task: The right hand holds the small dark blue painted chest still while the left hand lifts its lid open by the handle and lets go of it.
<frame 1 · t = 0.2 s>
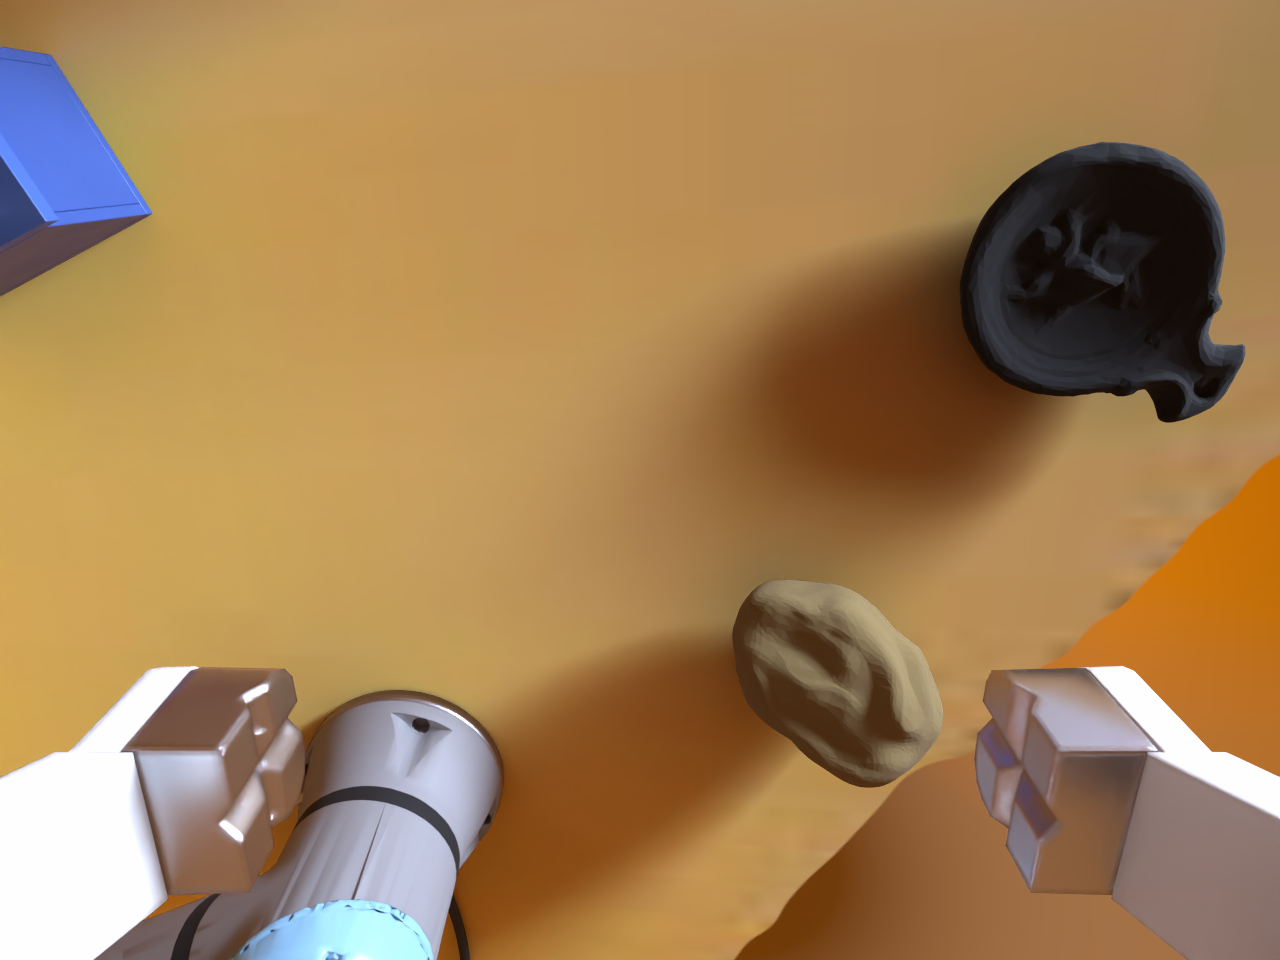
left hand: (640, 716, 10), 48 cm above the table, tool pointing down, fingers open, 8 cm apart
decorative stone: (818, 636, 65), on the table
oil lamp: (1080, 293, 56), on the table
chest: (6, 191, 54), on the table
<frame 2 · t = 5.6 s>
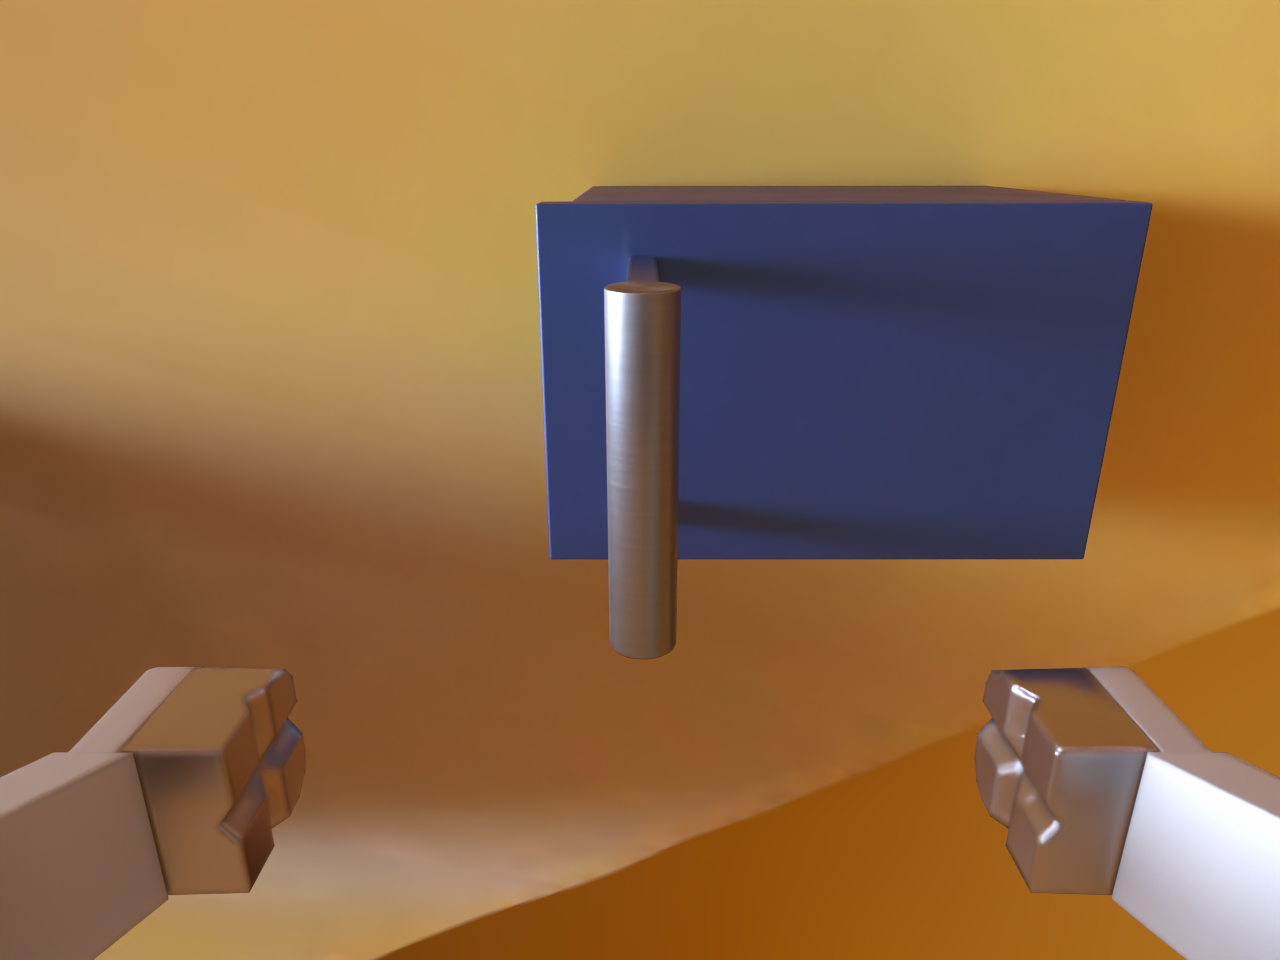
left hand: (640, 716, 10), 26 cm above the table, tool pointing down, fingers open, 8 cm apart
lid: (854, 427, 21), point 14 cm above the table, hinge at 0.0°
chest: (781, 318, 34), on the table
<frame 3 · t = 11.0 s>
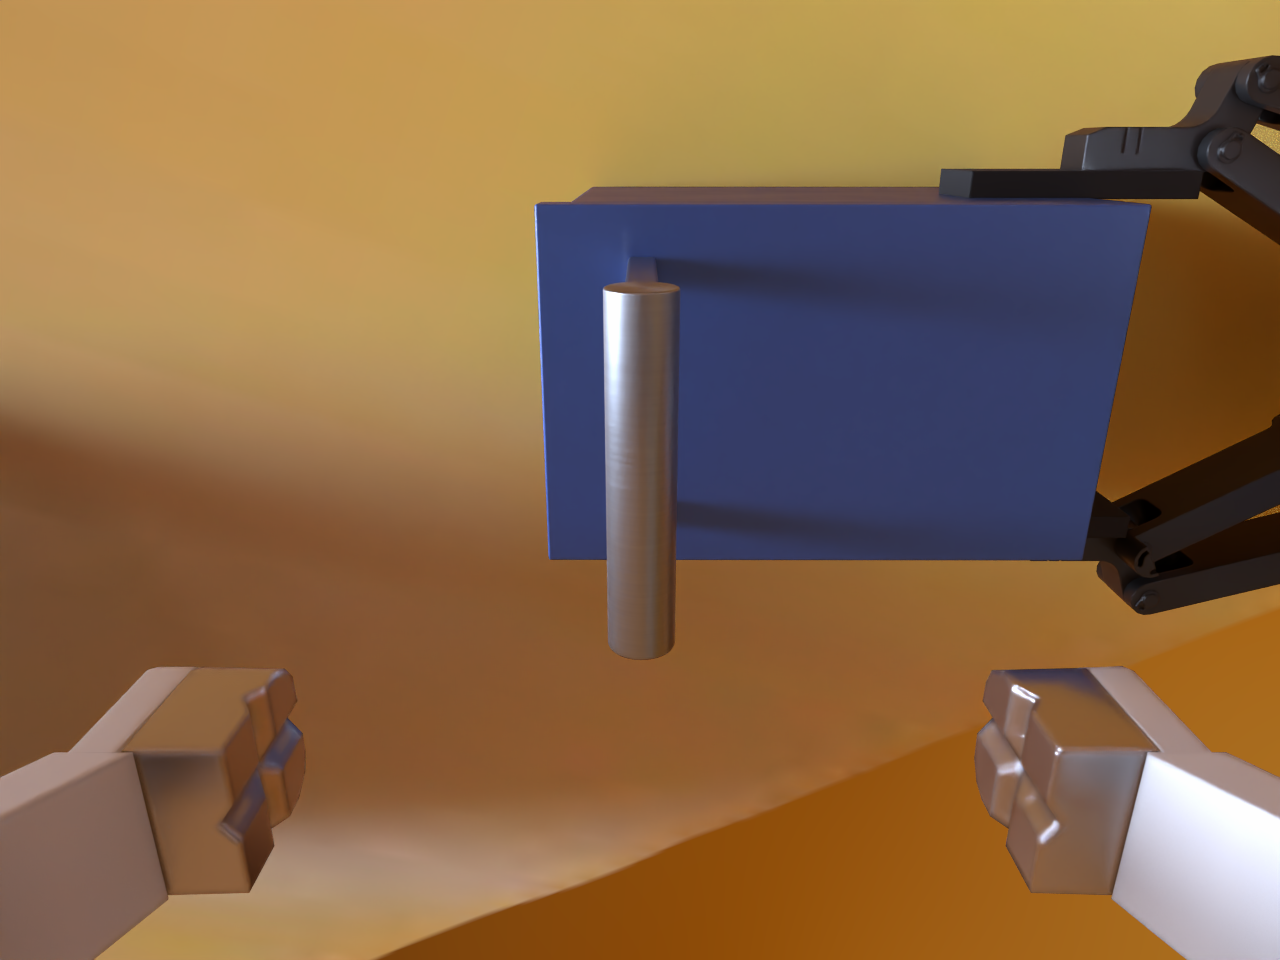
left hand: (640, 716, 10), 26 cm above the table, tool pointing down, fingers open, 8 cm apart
right hand: (933, 358, 28), fingers closed on chest, 10 cm apart
lid: (853, 428, 21), point 14 cm above the table, hinge at 0.0°
chest: (780, 319, 34), on the table, touching right hand
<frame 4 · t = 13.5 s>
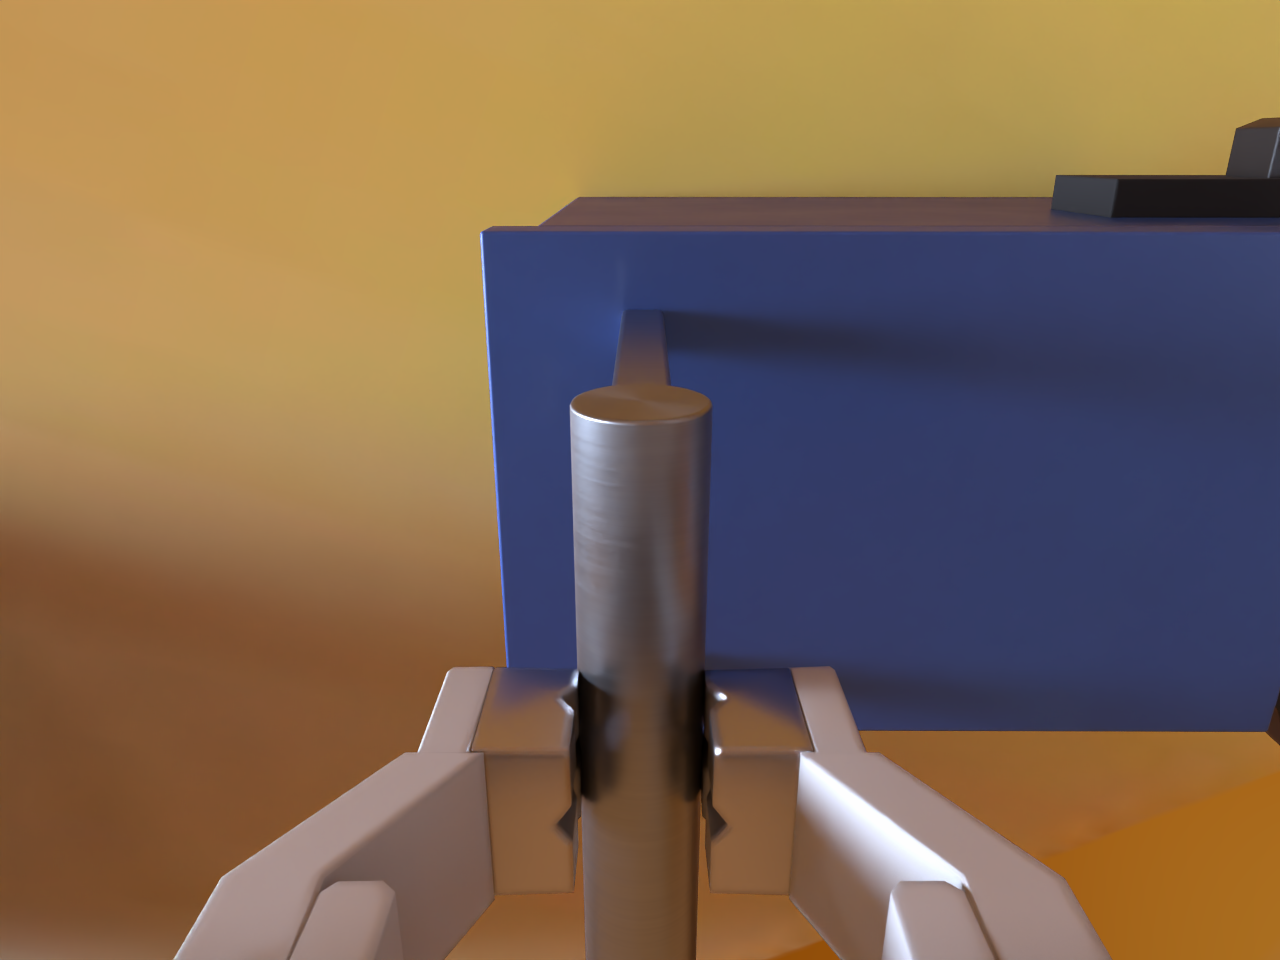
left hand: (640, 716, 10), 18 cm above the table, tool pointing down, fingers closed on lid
lid: (972, 584, 13), point 14 cm above the table, hinge at -0.1°, touching left hand
chest: (819, 365, 27), on the table, touching right hand
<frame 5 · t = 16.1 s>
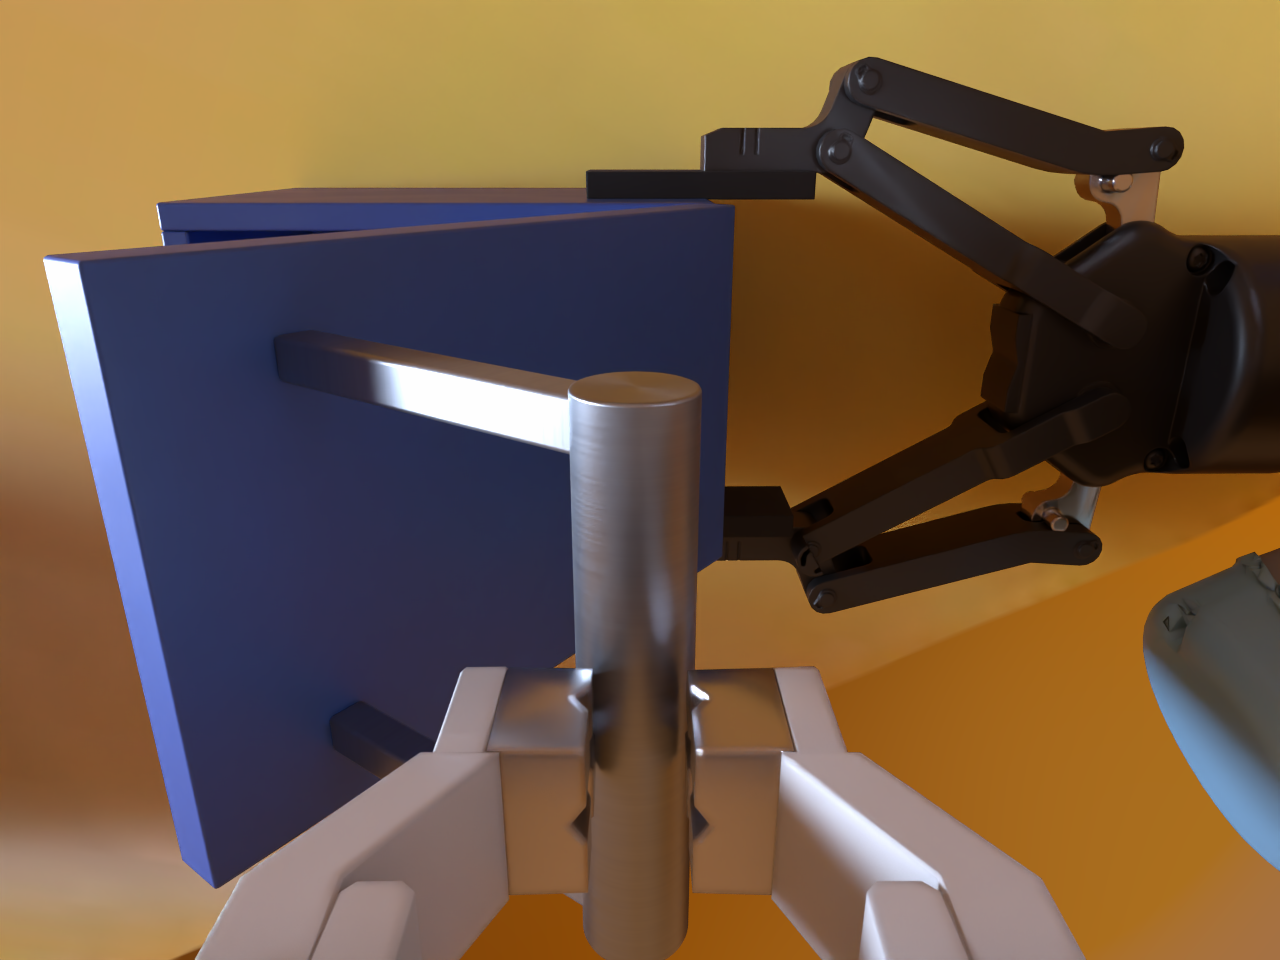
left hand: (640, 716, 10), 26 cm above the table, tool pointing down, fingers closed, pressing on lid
right hand: (591, 359, 28), fingers closed on chest, 10 cm apart
lid: (652, 503, 16), point 19 cm above the table, hinge at 52.7°, touching left hand
chest: (500, 320, 34), on the table, touching right hand
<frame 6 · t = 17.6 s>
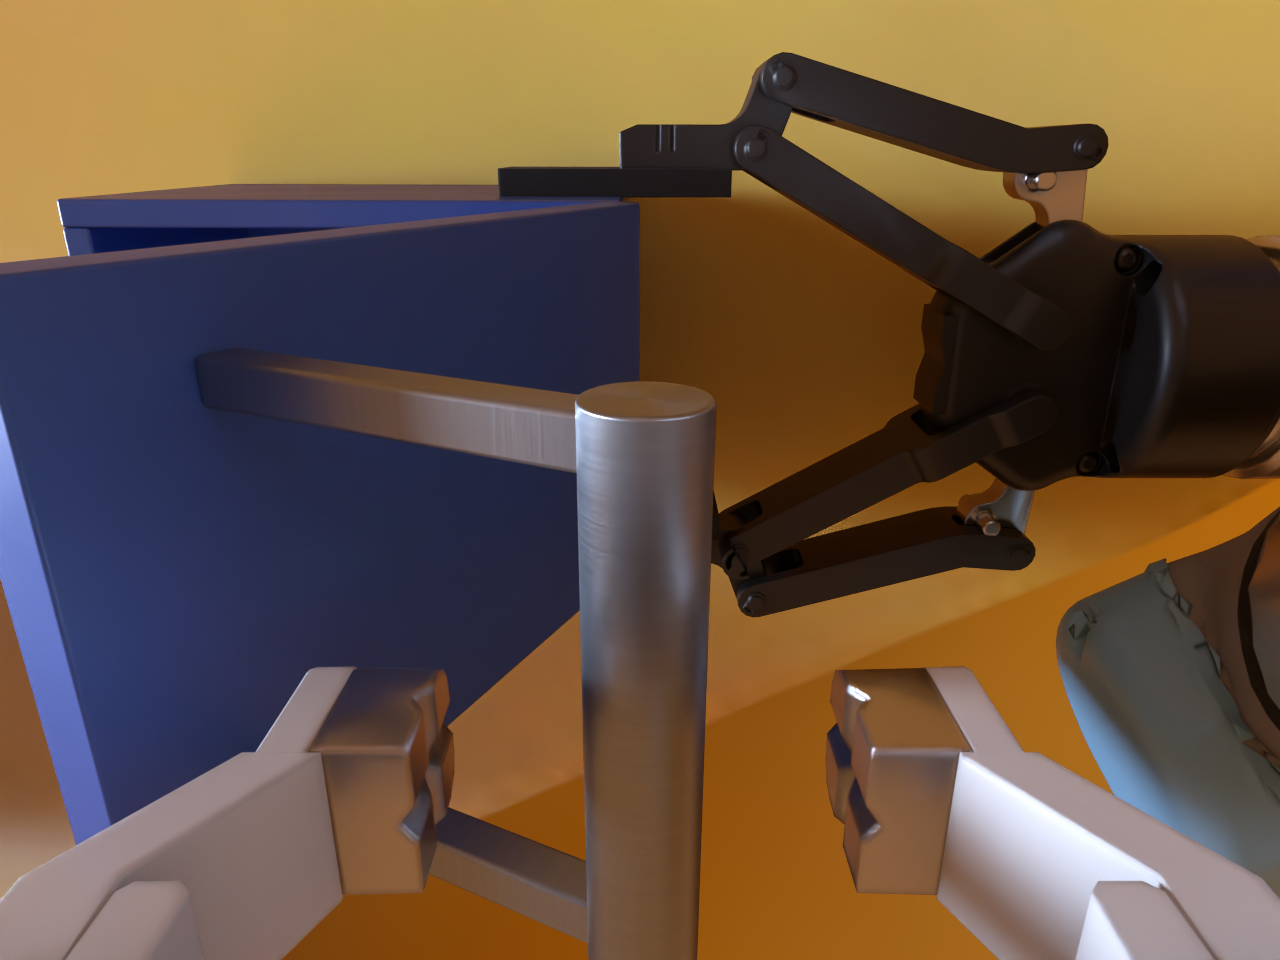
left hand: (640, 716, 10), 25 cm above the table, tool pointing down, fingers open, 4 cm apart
right hand: (514, 358, 28), fingers closed on chest, 10 cm apart
lid: (599, 512, 16), point 19 cm above the table, hinge at 63.6°
chest: (438, 318, 34), on the table, touching right hand
when the right hand's fingers open (7 cm above the table, at t = 20.8 s): chest stays where it is, on the table.
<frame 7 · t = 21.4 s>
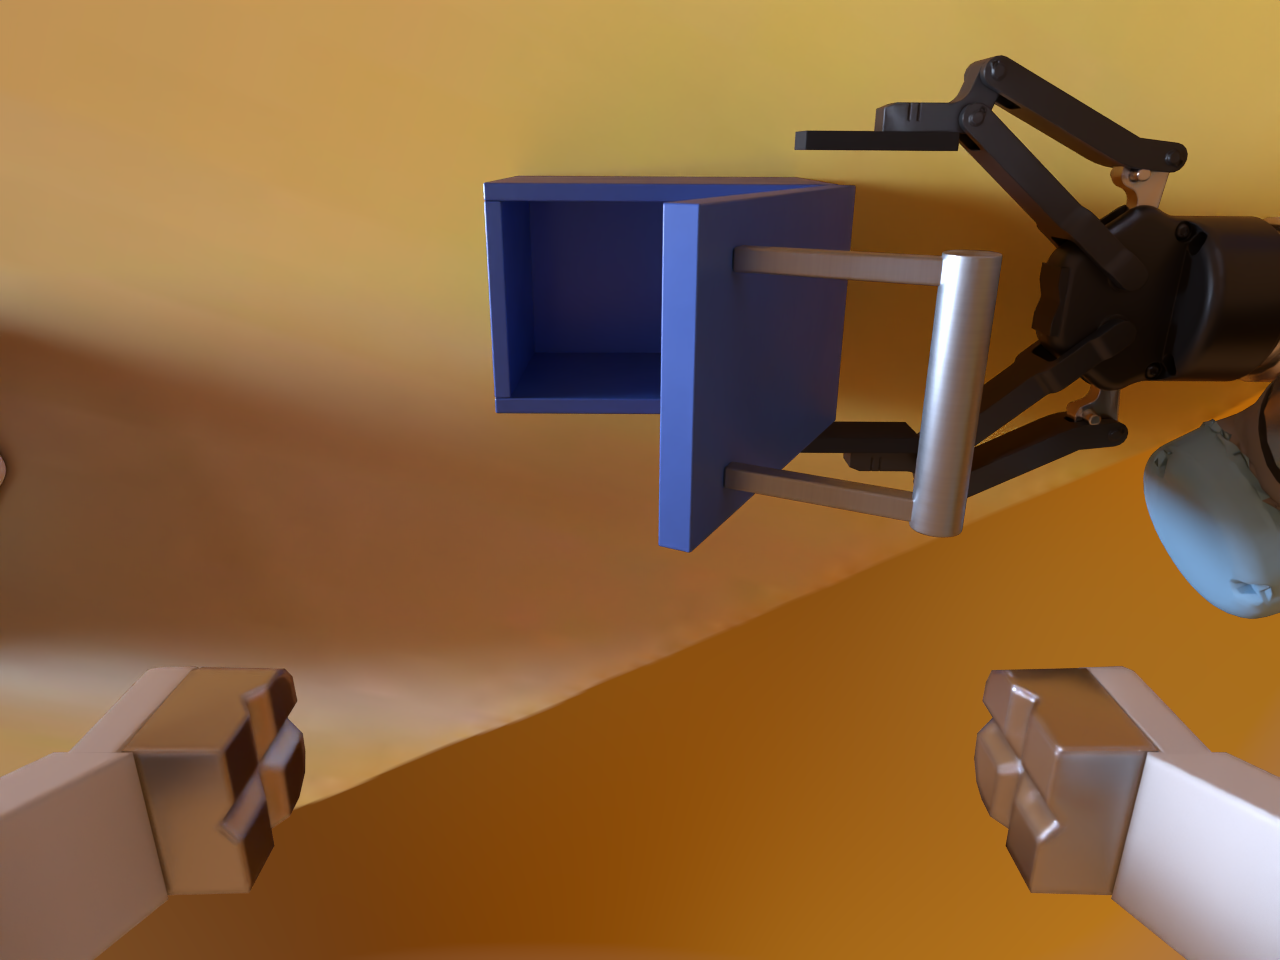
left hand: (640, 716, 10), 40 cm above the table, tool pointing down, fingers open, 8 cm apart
right hand: (788, 297, 41), fingers open, 13 cm apart
lid: (872, 350, 29), point 19 cm above the table, hinge at 62.5°
chest: (655, 272, 47), on the table
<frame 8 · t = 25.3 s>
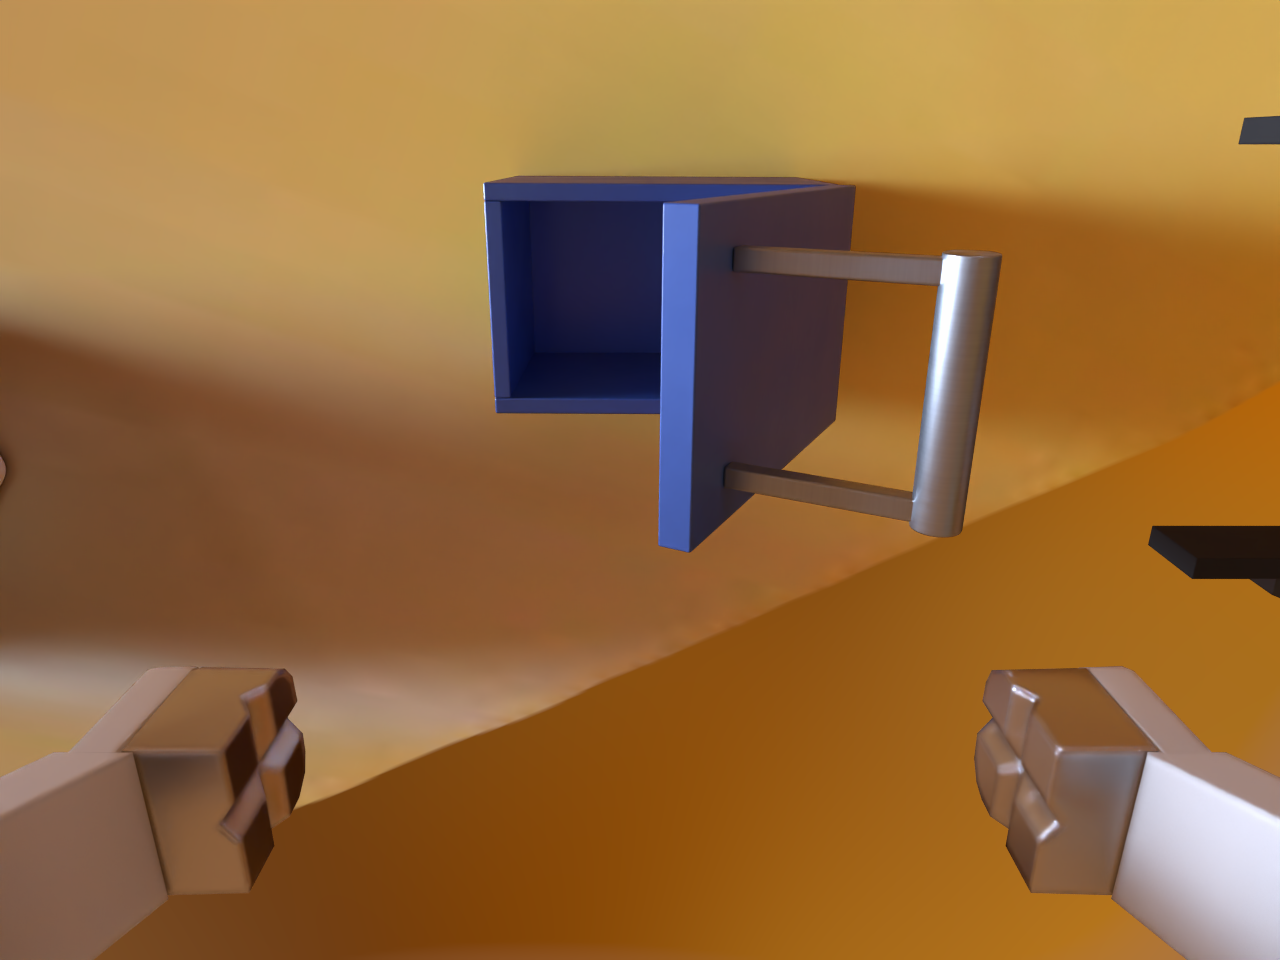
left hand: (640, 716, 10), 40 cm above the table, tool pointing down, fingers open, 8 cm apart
lid: (872, 350, 29), point 19 cm above the table, hinge at 62.5°
chest: (655, 273, 47), on the table
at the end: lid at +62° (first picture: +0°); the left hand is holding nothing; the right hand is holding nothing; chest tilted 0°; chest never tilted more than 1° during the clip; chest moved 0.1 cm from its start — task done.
